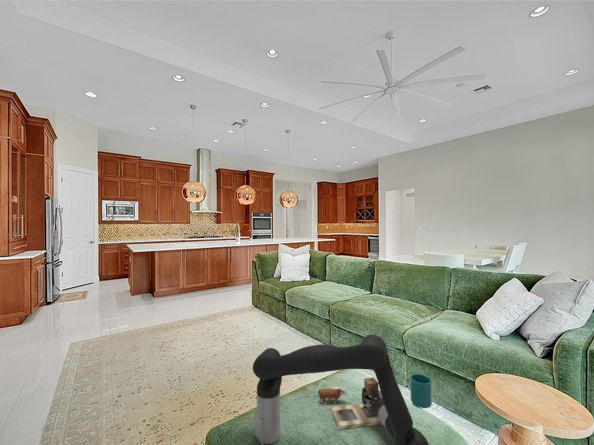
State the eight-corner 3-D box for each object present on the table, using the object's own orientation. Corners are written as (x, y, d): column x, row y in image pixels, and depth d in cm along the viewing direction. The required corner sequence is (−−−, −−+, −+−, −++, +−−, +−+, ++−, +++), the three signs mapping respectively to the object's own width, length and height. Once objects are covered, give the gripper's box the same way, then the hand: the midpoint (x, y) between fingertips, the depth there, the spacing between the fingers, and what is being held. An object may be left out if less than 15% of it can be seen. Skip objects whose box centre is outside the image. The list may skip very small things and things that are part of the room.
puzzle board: (339, 431, 112) (339, 426, 112) (330, 412, 124) (330, 407, 124) (389, 425, 116) (389, 419, 116) (376, 406, 128) (376, 401, 128)
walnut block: (369, 412, 118) (368, 384, 119) (364, 405, 123) (364, 378, 123) (378, 411, 119) (378, 383, 119) (374, 404, 124) (373, 377, 124)
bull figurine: (347, 407, 128) (347, 389, 128) (318, 406, 128) (318, 389, 128) (346, 401, 132) (346, 384, 132) (317, 400, 132) (317, 383, 133)
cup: (423, 393, 138) (423, 370, 139) (435, 408, 126) (435, 384, 127) (405, 393, 138) (405, 370, 139) (415, 409, 126) (415, 384, 127)
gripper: (404, 402, 108) (383, 379, 125) (369, 406, 106) (353, 382, 123) (404, 422, 108) (383, 396, 125) (370, 426, 106) (353, 399, 123)
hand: (368, 389), depth 124 cm, fingers closed on walnut block, 4 cm apart
